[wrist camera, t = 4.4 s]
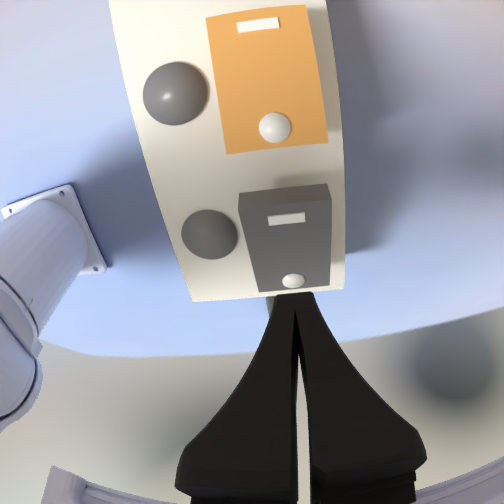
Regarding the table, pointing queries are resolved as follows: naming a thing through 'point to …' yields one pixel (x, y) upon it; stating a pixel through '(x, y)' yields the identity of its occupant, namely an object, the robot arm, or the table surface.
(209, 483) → the robot arm
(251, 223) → the block
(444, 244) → the table surface
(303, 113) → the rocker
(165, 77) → the switch panel
